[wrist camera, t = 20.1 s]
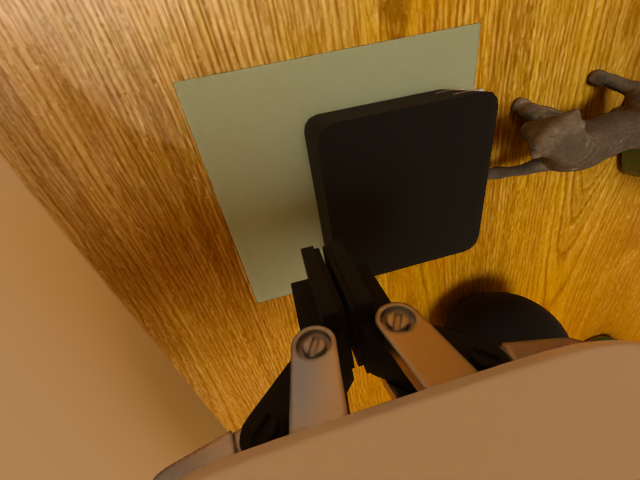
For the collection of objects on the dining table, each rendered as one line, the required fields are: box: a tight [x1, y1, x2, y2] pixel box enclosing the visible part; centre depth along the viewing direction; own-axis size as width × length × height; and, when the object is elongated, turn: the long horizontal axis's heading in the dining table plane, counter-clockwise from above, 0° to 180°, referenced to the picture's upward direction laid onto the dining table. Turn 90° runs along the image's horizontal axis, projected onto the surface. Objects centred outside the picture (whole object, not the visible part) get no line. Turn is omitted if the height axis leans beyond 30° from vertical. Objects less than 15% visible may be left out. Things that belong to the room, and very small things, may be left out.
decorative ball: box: [444, 292, 569, 347], centre depth 26 cm, size 10×10×10 cm
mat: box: [173, 23, 481, 303], centre depth 20 cm, size 18×16×1 cm
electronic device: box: [304, 88, 498, 276], centre depth 18 cm, size 4×10×10 cm
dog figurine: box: [487, 70, 640, 180], centre depth 18 cm, size 12×6×7 cm, turn 100°
